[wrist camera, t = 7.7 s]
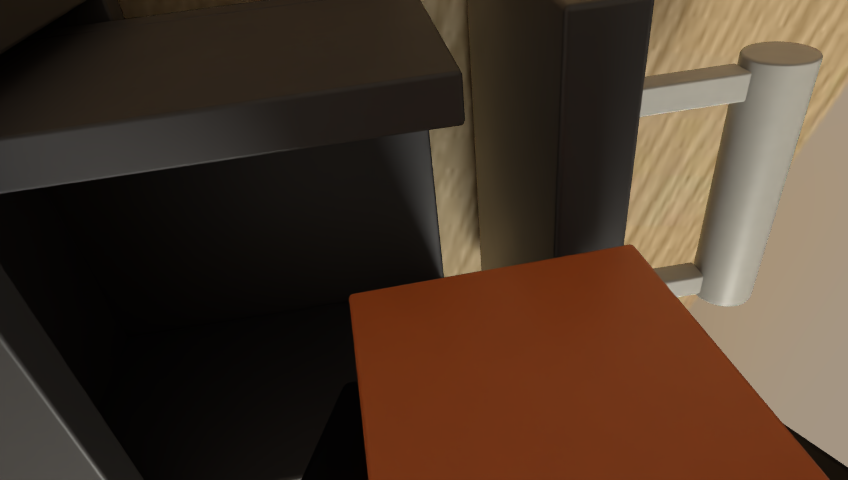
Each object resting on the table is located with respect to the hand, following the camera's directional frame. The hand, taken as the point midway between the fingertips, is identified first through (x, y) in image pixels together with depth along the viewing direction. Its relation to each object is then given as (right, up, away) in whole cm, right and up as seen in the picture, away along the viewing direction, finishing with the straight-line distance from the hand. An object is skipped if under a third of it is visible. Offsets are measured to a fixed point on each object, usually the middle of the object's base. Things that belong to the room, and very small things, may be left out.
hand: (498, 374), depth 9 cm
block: (0, 0, 0) cm, 0 cm away
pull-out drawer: (-2, +4, +6) cm, 8 cm away
